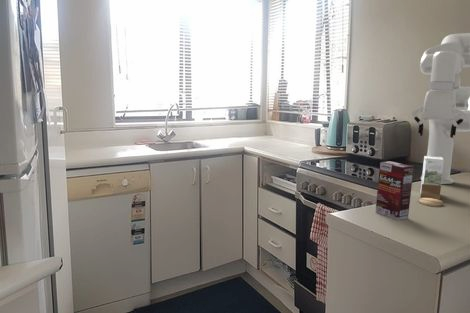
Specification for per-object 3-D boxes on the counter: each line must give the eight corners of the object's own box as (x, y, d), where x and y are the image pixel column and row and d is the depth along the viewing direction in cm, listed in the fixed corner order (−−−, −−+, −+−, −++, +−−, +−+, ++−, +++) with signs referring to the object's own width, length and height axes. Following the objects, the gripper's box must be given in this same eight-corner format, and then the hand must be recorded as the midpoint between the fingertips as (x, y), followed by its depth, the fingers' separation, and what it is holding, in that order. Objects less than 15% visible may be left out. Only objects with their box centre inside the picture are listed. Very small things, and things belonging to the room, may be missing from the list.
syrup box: (436, 194, 144) (441, 156, 141) (439, 198, 138) (444, 158, 136) (419, 193, 146) (424, 155, 143) (421, 196, 140) (426, 157, 138)
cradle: (420, 191, 148) (421, 178, 147) (437, 193, 145) (439, 180, 144) (420, 197, 139) (422, 184, 138) (439, 200, 136) (441, 186, 135)
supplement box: (374, 212, 119) (379, 161, 117) (385, 210, 122) (389, 160, 119) (398, 220, 112) (403, 166, 109) (409, 218, 114) (414, 165, 112)
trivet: (419, 199, 136) (419, 196, 136) (441, 202, 133) (441, 199, 133) (419, 204, 130) (419, 201, 130) (442, 207, 127) (442, 204, 127)
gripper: (468, 88, 135) (462, 137, 138) (414, 87, 143) (409, 134, 145) (471, 87, 129) (465, 139, 131) (414, 86, 136) (409, 135, 138)
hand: (436, 136), depth 138 cm, fingers open, 9 cm apart
